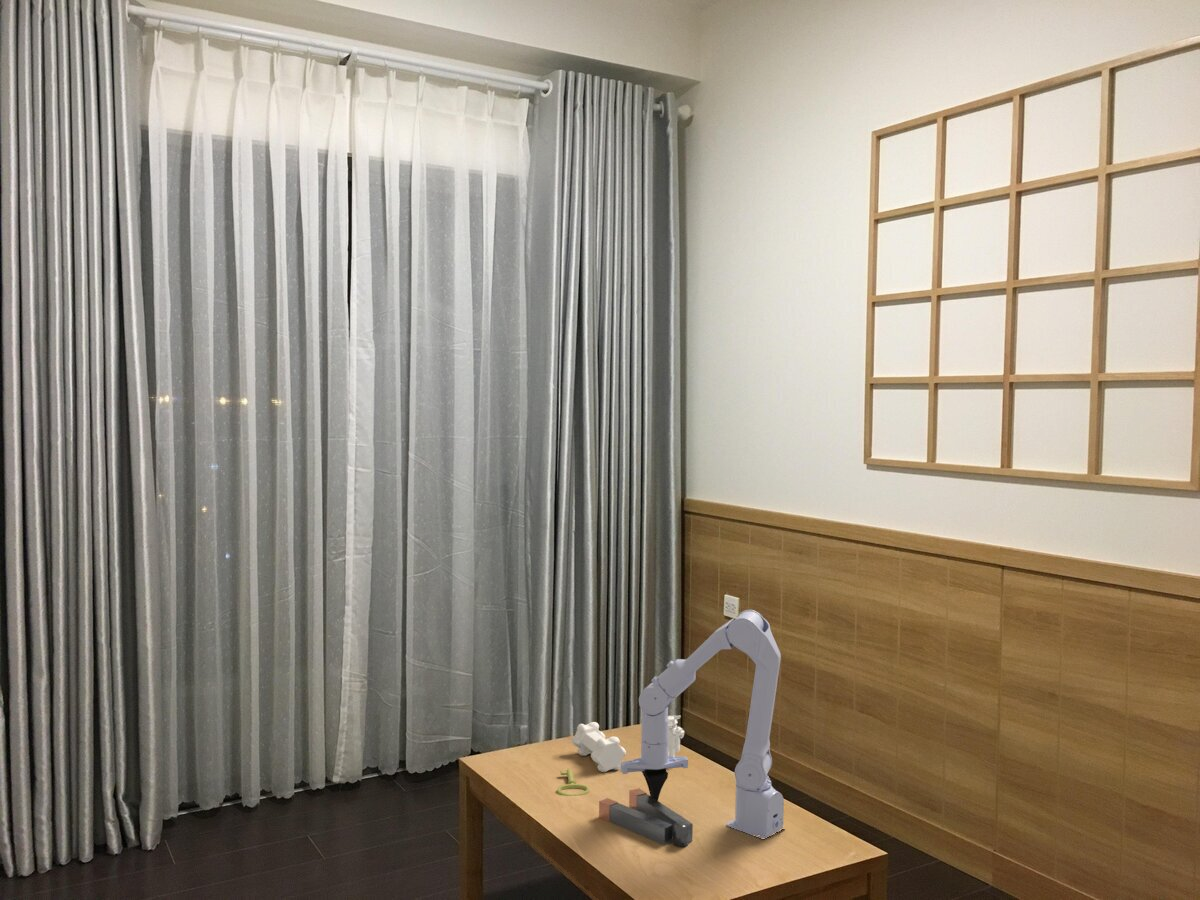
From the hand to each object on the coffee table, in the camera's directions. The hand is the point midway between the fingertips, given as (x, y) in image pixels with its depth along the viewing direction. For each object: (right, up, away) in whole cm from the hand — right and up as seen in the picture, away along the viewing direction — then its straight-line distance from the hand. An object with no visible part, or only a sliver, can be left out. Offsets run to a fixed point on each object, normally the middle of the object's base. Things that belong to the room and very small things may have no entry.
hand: (653, 803), depth 205 cm
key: (-18, -2, +14) cm, 23 cm away
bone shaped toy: (-12, -1, +29) cm, 32 cm away
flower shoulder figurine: (+5, -1, +30) cm, 30 cm away
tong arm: (0, -2, -7) cm, 7 cm away
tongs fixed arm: (-4, -2, -9) cm, 10 cm away
